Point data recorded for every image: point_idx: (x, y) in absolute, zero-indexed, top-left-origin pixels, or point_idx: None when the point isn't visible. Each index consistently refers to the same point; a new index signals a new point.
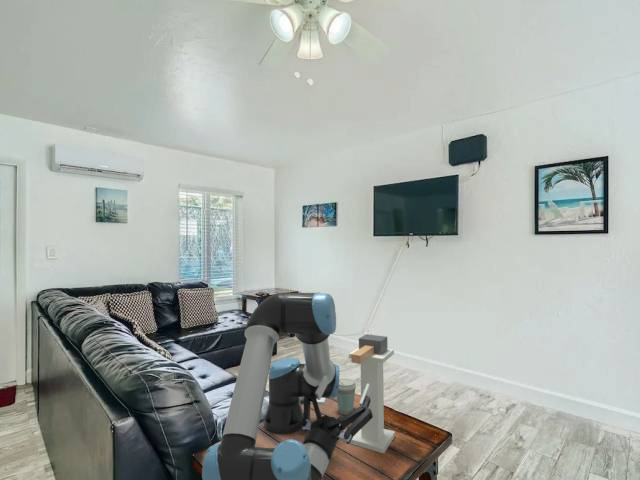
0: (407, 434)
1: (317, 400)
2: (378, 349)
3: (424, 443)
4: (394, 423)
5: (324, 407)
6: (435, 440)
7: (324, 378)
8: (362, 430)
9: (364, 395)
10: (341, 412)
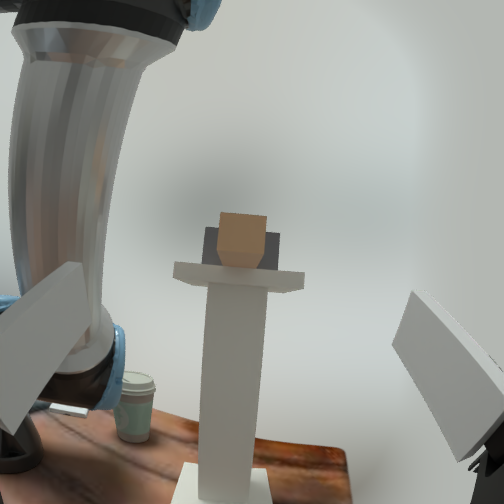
0: (285, 465)
1: (72, 409)
2: (270, 258)
3: (328, 471)
4: None
5: (87, 424)
6: (338, 459)
7: (62, 273)
8: (202, 486)
9: (475, 345)
10: (125, 437)
